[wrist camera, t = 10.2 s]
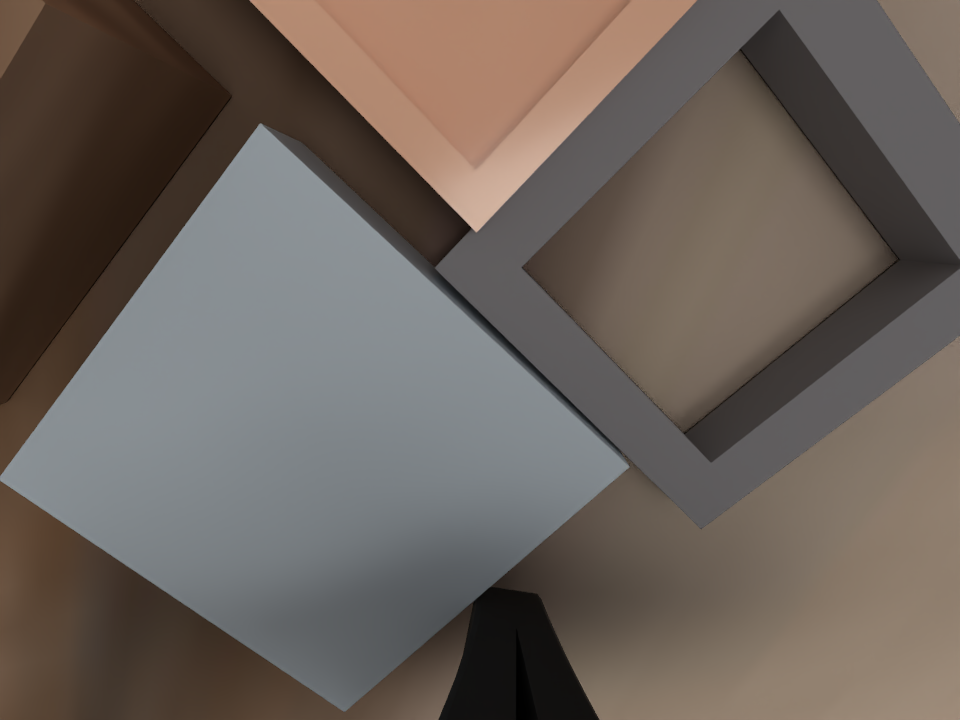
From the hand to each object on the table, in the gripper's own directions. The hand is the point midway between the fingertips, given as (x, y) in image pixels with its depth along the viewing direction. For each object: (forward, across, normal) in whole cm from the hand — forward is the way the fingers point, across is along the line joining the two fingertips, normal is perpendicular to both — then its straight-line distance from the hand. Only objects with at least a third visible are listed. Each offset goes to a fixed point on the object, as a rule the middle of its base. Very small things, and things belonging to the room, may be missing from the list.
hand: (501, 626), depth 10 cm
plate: (+1, +4, -3) cm, 5 cm away
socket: (+1, -2, -8) cm, 9 cm away
